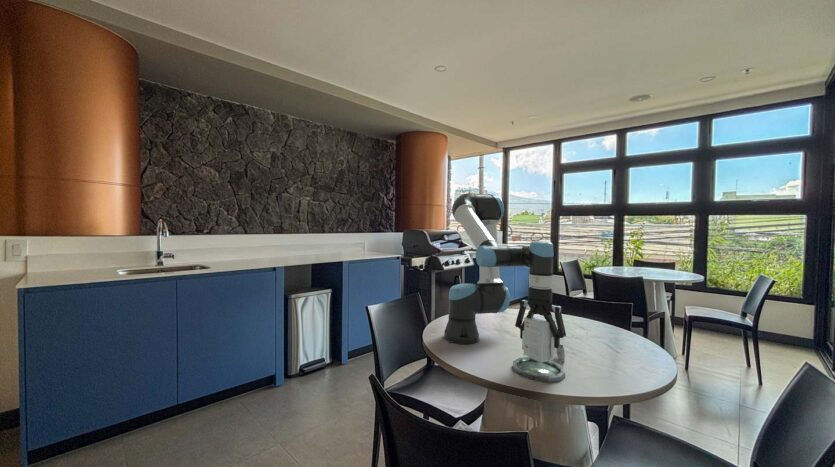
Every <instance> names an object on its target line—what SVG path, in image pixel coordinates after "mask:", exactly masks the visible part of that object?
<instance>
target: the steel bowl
mask: <svg viewBox="0 0 835 467" xmlns="http://www.w3.org/2000/svg"><path fill="white" fill-rule="evenodd" d="M512 368H513V372H514V373H515V374H517V375H518V376H520V377H521V378H524V379H527V380H530V381H533V382H539V383H547V384H548V383H557V382H561V381H562V380H563V379H565V378H566V371H565V368H564V366H562V365H561V364H559V363H557V362H555V361H554V360H551V361H547V362H542V363H540V362H538V361H536V360H534V359H532V358H530V357H528V356H525V357H524V356H523V357H519V358H516V359H515V360H513V361H512Z"/></svg>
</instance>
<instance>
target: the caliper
mask: <svg viewBox="0 0 835 467" xmlns="http://www.w3.org/2000/svg"><path fill="white" fill-rule="evenodd" d="M563 346H564V345H563V344H561V343H560V346H559V348H557V356H556V357H557V360H558V361H560V362H562V363H564V362H565V356H566V355H565V348H564V347H563Z"/></svg>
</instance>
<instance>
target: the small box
mask: <svg viewBox="0 0 835 467" xmlns="http://www.w3.org/2000/svg"><path fill="white" fill-rule="evenodd" d="M523 321H524V350H523V355H524V356H525V357H530V358H532V359H534V360H536V361H538V362H540V363H542V362H547V361H554V360H555V358H551V338H552V337H554V336H553V334H552V332H551V330H550V327H549V322H547V321H546V319H545V318H544V317H542V316H540V315H536V316H535V315H534V316H533V317H531V318H526V316H524V318H523ZM554 322H555V323H556V320H554Z"/></svg>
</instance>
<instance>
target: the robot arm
mask: <svg viewBox="0 0 835 467" xmlns="http://www.w3.org/2000/svg"><path fill="white" fill-rule="evenodd" d="M451 210H452V211H451V212H452V216H453V219H455V221H456V222H457V223H458V224H460V225H461V226H462V228H463V230H464V231H465V233H466V234H467V236H468V237H469V239H470V240H471V243H472V244H473V245H474V247H475V249H476V250H475V253H474V254H475V255H474V256H475V259H476V260H475V261H476V264H477V265H478V266H479V280H478V281H477V283H476V284H475V283H458V284H454V285H452V286H451V287H450V288H449V291H448V292H449V293H448V294H449V295H448V321H447V323H446V327H445V329H444V333H443V334H444V335H443V337H444V339H445V340H446V341H448V342H450V343H454V344H459V345H468V344H470V345H471V344H474V343H477V342H479V340H480V333H479V330H478V326H477V323H476V315H479V314H480V315H481V314H483V315H485V314H498V313H499V314H501V313H504V312H505V311H506V310H507V309H508V308H509V305H510V301H511V300H510V299H511V295H510V293H511V292H510V290H509V288H508V287H507V286H505V285H504V284H505V283H504V281H503V280H502V279H501V278H500V268H501V267H509V268H510V267H525V268H528V270H529V271H528V272H529V273H528V285H529V287H528V299H527V300H526V299H522V300H520V301H519V310H518V313H517V317H516V321H515V324H514V326H515V327H516V328H518V329H519V331H520V332H519V333H520V335H519V337H520V339H521V342H522V343H521V345H522V346H521V350H523V351H524V318H525V317H526V318H531V317H533V316H535V315H538V316H541V317H542V316H543V318H545V319H546V321H547V322H549V327H550V330H551V332H552V334H553V336H554V337H552V338H551V358H554V359H555V358H556V357H558V356H557V348H559V346H560V344H561V343H560V342H561V341H560V339H563V338H565V337H566V336H567V332H566V328H565V324H564V320H563V315H562V310H563V307H562V306H561V305H554V304H553V286H554V284H553V283H554V282H553V281H554V280H553V278H554V277H553V276H554V274H553V273H554V254H555V253H554V244H553V243H552V242H550V241H531V242H530V243H529V246H527V245H525V244H524V245H523V244H522V245H519V244H518V245H517V244H516V245H499V243H498V229H497V227H498V226H497V225H499V223H501V222H500V220H501V219H502V218H503V217H504V213H505V205H504V202H503V200H502V198H501V197H500V196H499V195H497V194H491V193H470V192H469V193H468V192H467V193H464V194H461V195H460V196H458V197H457V198H456V199H455V200H454V202H453V204H452V208H451ZM527 307H529V311H528V313H527V315H526V316H525V314H526V309H527ZM551 310H553V313H554V316H555V317H554V318H553V314H552V312H551ZM554 319H555V320H554ZM554 321H555V322H554Z"/></svg>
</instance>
